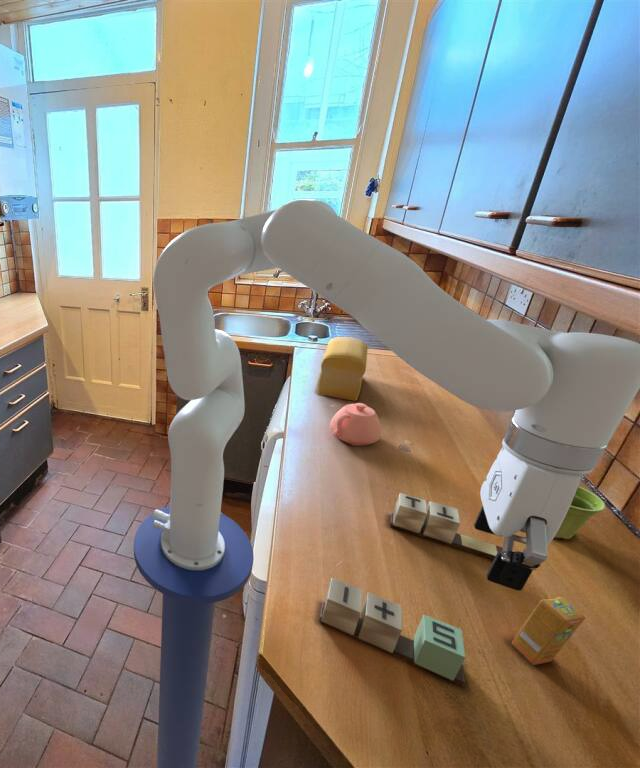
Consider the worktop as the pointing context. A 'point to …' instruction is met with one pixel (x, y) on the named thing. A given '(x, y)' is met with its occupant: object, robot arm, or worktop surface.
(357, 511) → the worktop surface
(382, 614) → the front word
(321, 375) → the bread
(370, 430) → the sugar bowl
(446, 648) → the pale green cube
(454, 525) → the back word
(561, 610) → the supplement box
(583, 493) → the plant pot
